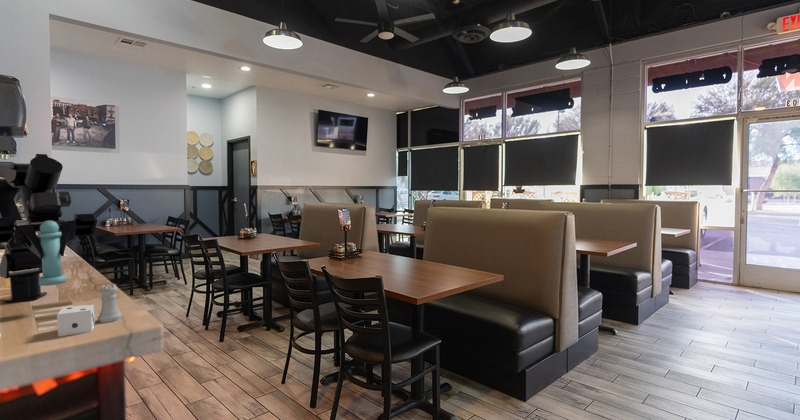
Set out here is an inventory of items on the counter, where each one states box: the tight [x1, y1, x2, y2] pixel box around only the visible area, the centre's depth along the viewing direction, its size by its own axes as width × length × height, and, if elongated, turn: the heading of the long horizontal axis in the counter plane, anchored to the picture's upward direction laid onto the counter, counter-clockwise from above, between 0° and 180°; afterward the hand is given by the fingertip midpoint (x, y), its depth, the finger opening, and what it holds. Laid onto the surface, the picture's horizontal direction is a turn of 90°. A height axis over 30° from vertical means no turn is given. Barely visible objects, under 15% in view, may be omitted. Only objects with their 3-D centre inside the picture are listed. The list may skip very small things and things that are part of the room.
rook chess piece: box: [97, 283, 124, 324], centre depth 86 cm, size 4×4×8 cm
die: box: [57, 303, 96, 338], centre depth 80 cm, size 5×5×5 cm
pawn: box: [37, 221, 67, 287], centre depth 92 cm, size 5×5×14 cm
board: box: [31, 299, 75, 332], centre depth 91 cm, size 24×7×1 cm, turn 44°
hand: (52, 256), depth 91 cm, fingers closed on pawn, 3 cm apart
